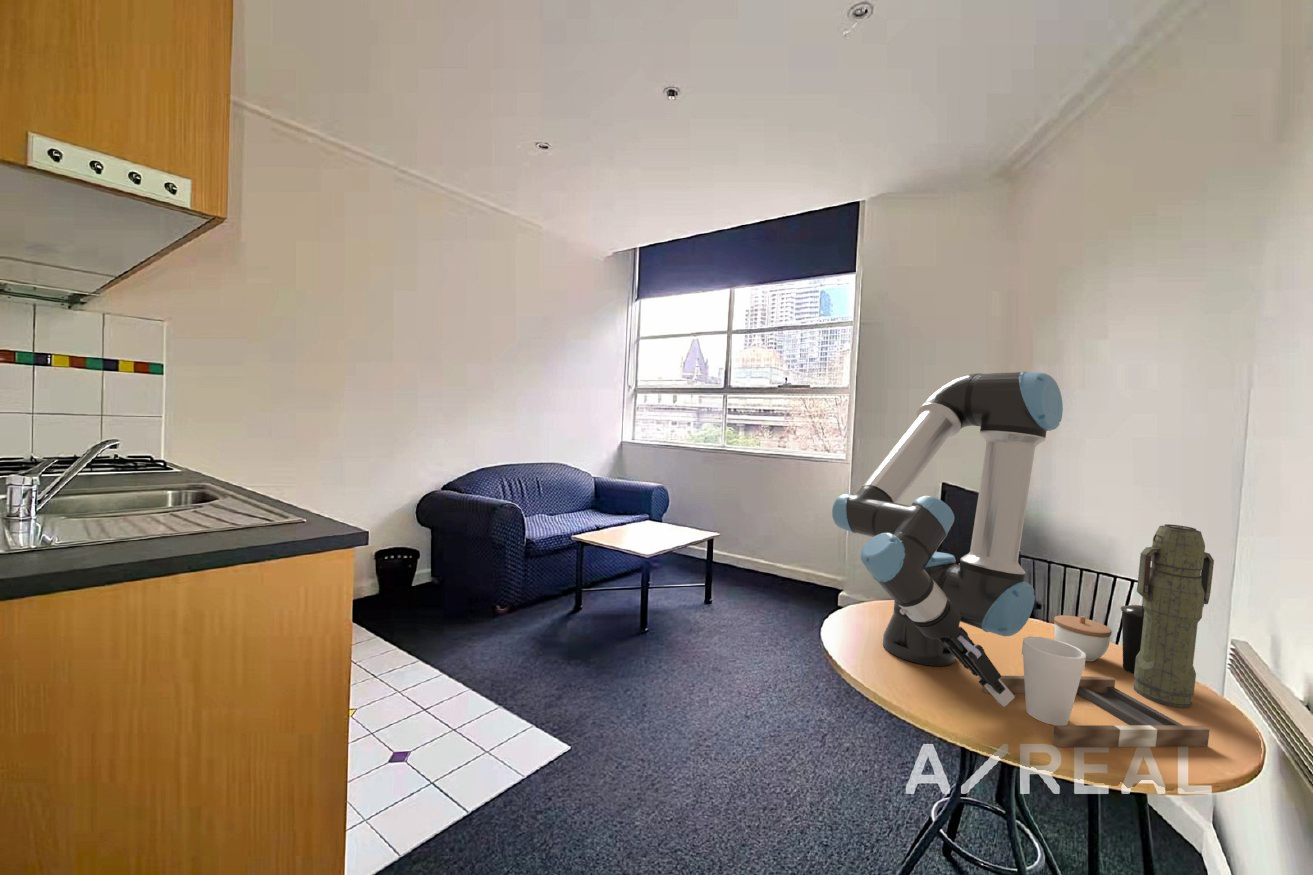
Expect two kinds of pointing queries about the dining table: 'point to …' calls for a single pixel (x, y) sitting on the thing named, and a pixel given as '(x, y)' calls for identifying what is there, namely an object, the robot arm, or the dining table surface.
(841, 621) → the dining table surface
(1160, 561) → the thermos
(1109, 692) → the lane
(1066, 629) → the lidded jar
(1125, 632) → the drinking cup
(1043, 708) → the foam cup
